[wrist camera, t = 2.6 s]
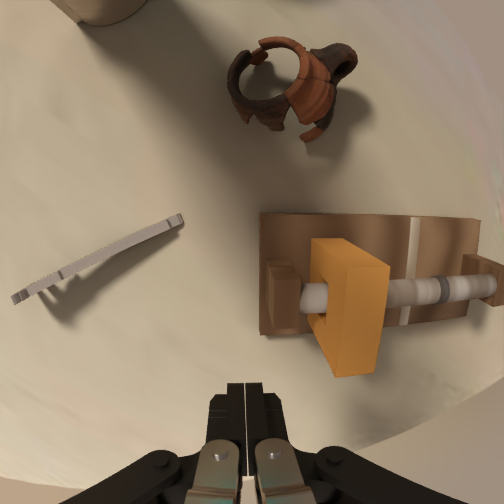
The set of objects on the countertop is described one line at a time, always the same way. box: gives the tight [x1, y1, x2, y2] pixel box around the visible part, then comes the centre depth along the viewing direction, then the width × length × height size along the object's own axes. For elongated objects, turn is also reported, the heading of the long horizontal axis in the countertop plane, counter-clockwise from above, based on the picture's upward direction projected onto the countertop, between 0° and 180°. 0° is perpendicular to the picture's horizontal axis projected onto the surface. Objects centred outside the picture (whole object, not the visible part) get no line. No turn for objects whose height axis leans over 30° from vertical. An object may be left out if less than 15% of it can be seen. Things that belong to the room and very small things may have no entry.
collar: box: [307, 238, 390, 378], centre depth 25 cm, size 3×8×10 cm, turn 0°
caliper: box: [11, 213, 183, 305], centre depth 28 cm, size 20×1×6 cm, turn 112°
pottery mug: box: [227, 37, 358, 142], centre depth 25 cm, size 12×10×8 cm
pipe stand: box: [259, 213, 504, 335], centre depth 28 cm, size 26×12×8 cm, turn 90°
